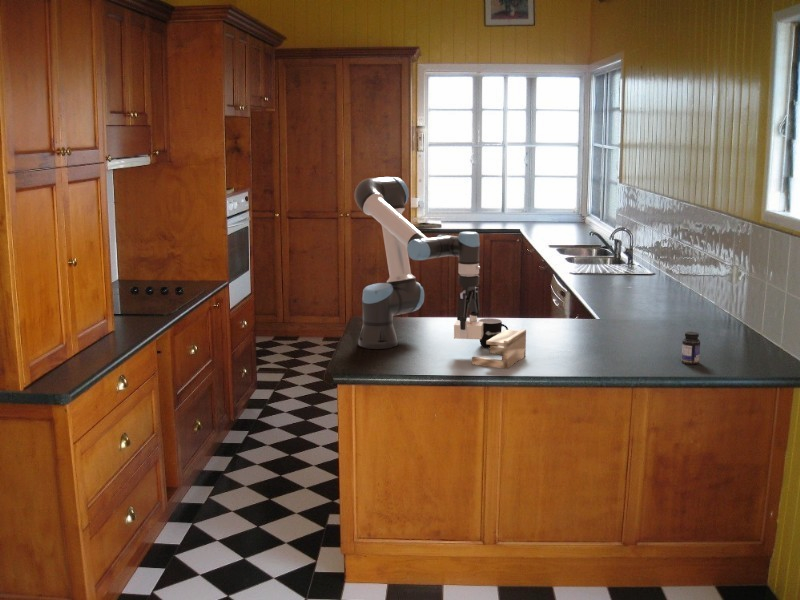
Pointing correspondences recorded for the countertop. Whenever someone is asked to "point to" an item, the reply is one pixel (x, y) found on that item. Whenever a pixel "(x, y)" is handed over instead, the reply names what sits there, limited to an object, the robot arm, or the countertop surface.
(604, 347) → the countertop surface
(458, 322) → the cream white block
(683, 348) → the pill bottle
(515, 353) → the shelf
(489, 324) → the mug
